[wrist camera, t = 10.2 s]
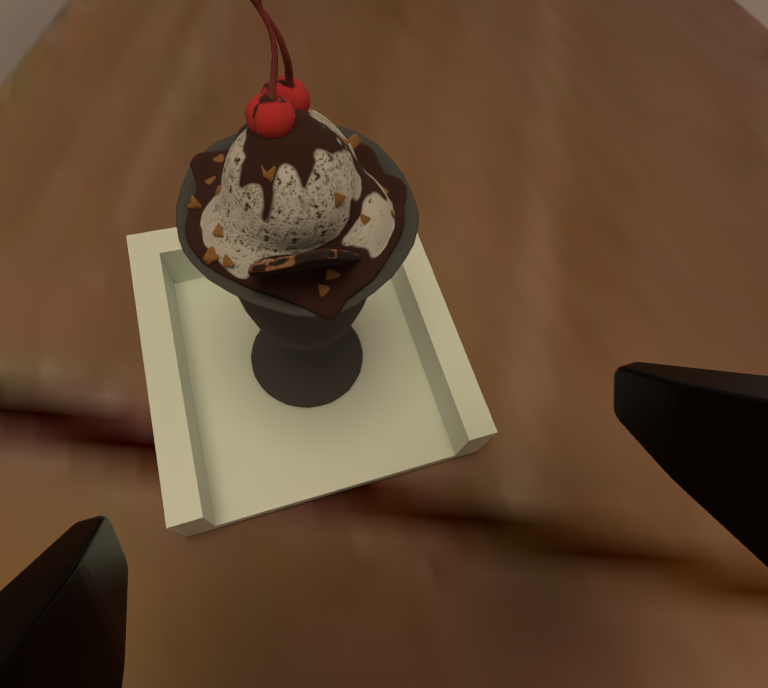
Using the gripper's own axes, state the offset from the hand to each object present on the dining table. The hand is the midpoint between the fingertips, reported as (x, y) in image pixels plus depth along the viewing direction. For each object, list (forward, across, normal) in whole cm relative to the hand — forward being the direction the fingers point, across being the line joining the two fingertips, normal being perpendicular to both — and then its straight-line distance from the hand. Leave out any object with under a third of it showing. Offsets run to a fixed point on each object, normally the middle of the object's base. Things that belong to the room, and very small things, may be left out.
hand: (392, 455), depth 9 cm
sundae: (+15, 0, +4) cm, 15 cm away
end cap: (+15, 0, +4) cm, 16 cm away
